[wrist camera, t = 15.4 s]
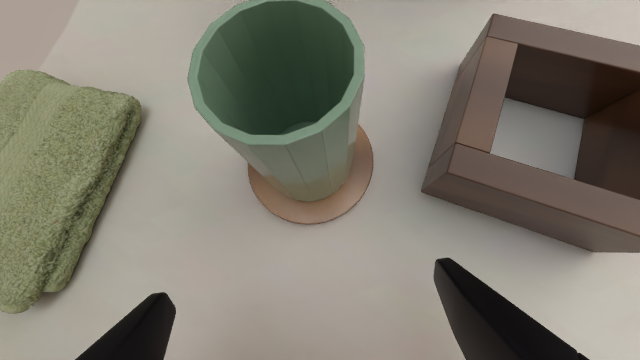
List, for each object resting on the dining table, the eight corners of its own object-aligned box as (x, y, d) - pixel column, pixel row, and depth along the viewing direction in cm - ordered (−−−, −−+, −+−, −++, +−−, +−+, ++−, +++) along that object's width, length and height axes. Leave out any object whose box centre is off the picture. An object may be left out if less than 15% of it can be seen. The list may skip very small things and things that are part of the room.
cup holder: (595, 252, 18) (690, 253, 13) (420, 191, 20) (446, 172, 15) (616, 104, 20) (702, 58, 15) (460, 64, 22) (493, 12, 17)
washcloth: (-68, 259, 21) (-138, 261, 18) (47, 79, 25) (6, 55, 22) (59, 314, 19) (6, 326, 16) (162, 109, 23) (135, 88, 20)
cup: (370, 160, 20) (403, 59, 9) (305, 220, 19) (262, 183, 9) (311, 105, 22) (284, -33, 11) (249, 158, 21) (155, 64, 10)
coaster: (388, 206, 19) (389, 205, 19) (260, 238, 20) (258, 238, 19) (353, 94, 22) (353, 91, 22) (241, 123, 22) (239, 120, 22)
